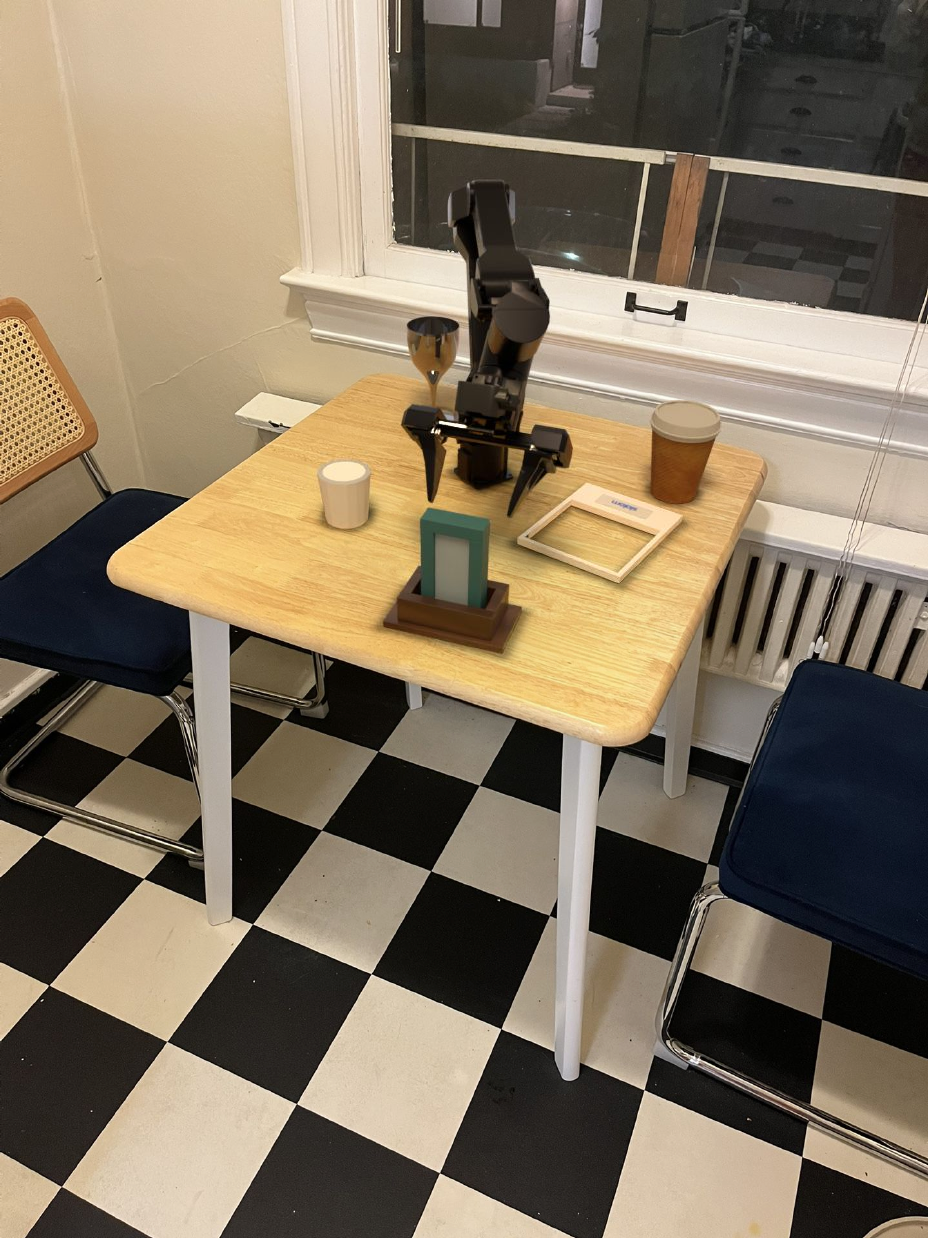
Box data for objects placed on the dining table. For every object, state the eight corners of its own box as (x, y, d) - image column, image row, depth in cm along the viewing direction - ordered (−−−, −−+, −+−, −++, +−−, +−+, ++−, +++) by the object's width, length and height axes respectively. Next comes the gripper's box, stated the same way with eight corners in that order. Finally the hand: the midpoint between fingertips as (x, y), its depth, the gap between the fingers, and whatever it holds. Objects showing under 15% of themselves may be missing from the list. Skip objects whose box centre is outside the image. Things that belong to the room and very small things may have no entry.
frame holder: (408, 587, 108) (408, 559, 106) (521, 611, 105) (523, 583, 102) (383, 626, 102) (381, 598, 100) (502, 653, 99) (503, 624, 96)
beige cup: (364, 534, 118) (362, 486, 113) (314, 527, 119) (309, 480, 114) (379, 507, 123) (377, 461, 119) (330, 501, 124) (326, 455, 120)
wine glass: (403, 426, 143) (401, 332, 134) (414, 405, 149) (412, 314, 140) (453, 430, 142) (454, 336, 133) (461, 409, 148) (463, 318, 139)
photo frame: (683, 514, 121) (620, 575, 109) (681, 521, 121) (618, 583, 110) (586, 481, 127) (517, 536, 115) (586, 488, 128) (517, 543, 116)
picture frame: (428, 600, 105) (428, 507, 97) (486, 613, 103) (490, 518, 96) (420, 613, 103) (419, 518, 95) (479, 626, 101) (483, 530, 94)
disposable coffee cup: (705, 479, 131) (721, 401, 124) (708, 513, 123) (726, 432, 116) (639, 473, 132) (651, 395, 125) (638, 506, 125) (650, 425, 117)
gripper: (405, 332, 96) (368, 472, 95) (577, 357, 92) (541, 504, 90) (431, 375, 107) (398, 502, 106) (586, 400, 103) (554, 532, 101)
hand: (469, 509), depth 100 cm, fingers open, 9 cm apart
